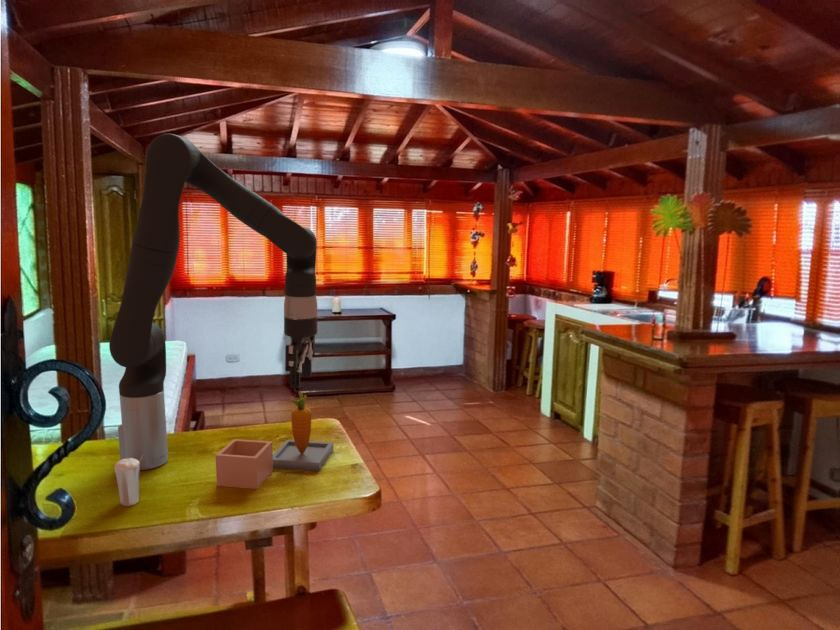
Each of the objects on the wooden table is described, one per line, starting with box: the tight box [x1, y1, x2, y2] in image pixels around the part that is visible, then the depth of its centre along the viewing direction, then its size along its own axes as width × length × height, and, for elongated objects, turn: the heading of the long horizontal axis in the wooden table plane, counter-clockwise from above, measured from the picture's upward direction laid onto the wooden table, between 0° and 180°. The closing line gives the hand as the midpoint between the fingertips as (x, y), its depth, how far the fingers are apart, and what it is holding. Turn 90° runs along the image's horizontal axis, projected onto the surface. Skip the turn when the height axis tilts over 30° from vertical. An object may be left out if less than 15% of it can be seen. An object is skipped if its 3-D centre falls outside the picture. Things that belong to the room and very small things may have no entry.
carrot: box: [290, 391, 312, 454], centre depth 139 cm, size 5×5×15 cm
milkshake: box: [114, 455, 143, 507], centre depth 117 cm, size 4×5×10 cm
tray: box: [273, 439, 334, 472], centre depth 140 cm, size 12×12×2 cm
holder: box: [215, 438, 274, 490], centre depth 129 cm, size 9×9×7 cm
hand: (301, 382), depth 137 cm, fingers open, 8 cm apart
